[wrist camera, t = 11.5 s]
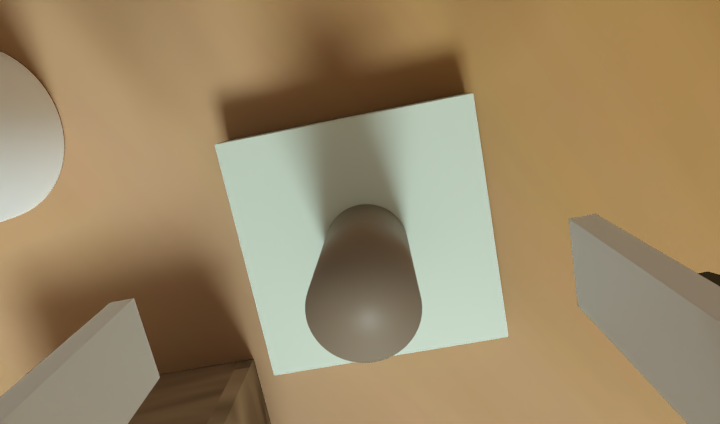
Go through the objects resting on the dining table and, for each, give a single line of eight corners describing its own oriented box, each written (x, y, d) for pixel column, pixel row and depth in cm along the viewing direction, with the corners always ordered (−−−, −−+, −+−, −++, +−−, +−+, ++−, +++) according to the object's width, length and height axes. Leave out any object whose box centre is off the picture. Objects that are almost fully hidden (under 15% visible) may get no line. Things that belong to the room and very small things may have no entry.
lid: (222, 142, 23) (141, 168, 15) (468, 93, 22) (520, 93, 14) (278, 362, 25) (234, 486, 17) (502, 325, 25) (563, 437, 17)
